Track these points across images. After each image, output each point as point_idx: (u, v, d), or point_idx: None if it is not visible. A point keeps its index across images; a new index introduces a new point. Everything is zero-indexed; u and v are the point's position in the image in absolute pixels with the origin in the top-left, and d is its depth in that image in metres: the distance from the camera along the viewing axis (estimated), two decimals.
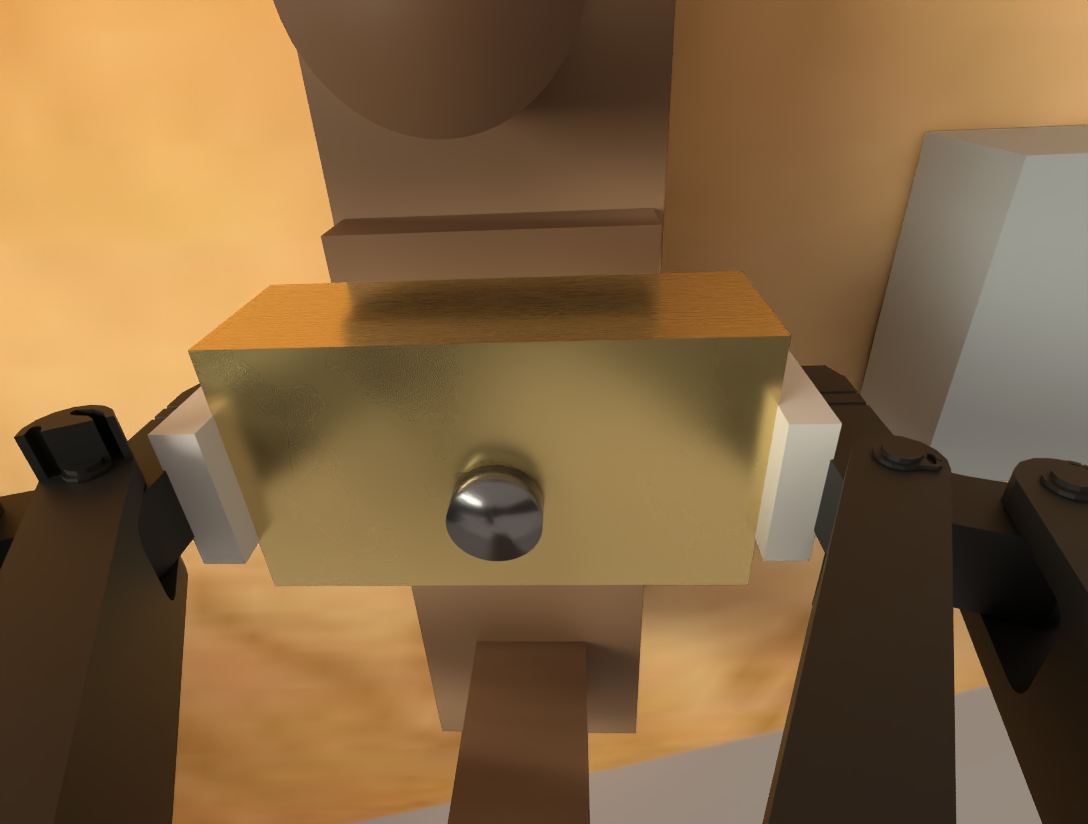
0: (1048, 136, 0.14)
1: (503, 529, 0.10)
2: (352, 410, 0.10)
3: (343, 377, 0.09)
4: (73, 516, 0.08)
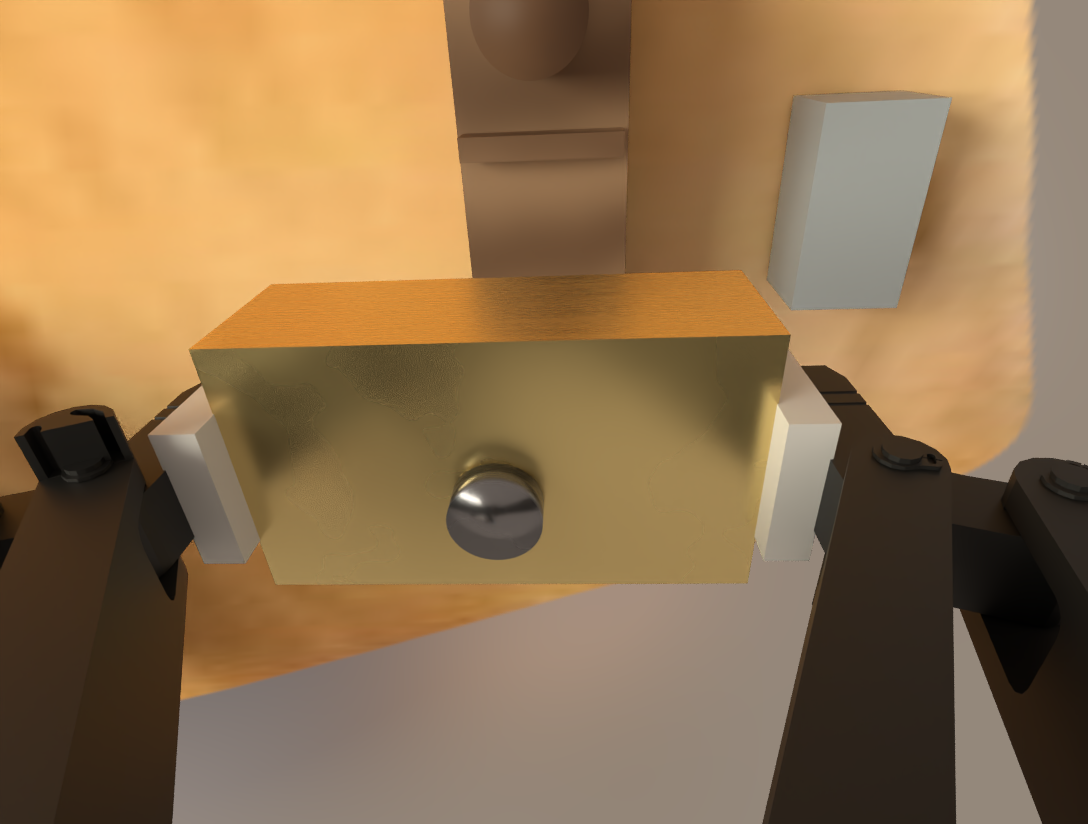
0: (855, 96, 0.24)
1: (503, 528, 0.10)
2: (352, 408, 0.10)
3: (344, 376, 0.10)
4: (73, 516, 0.08)
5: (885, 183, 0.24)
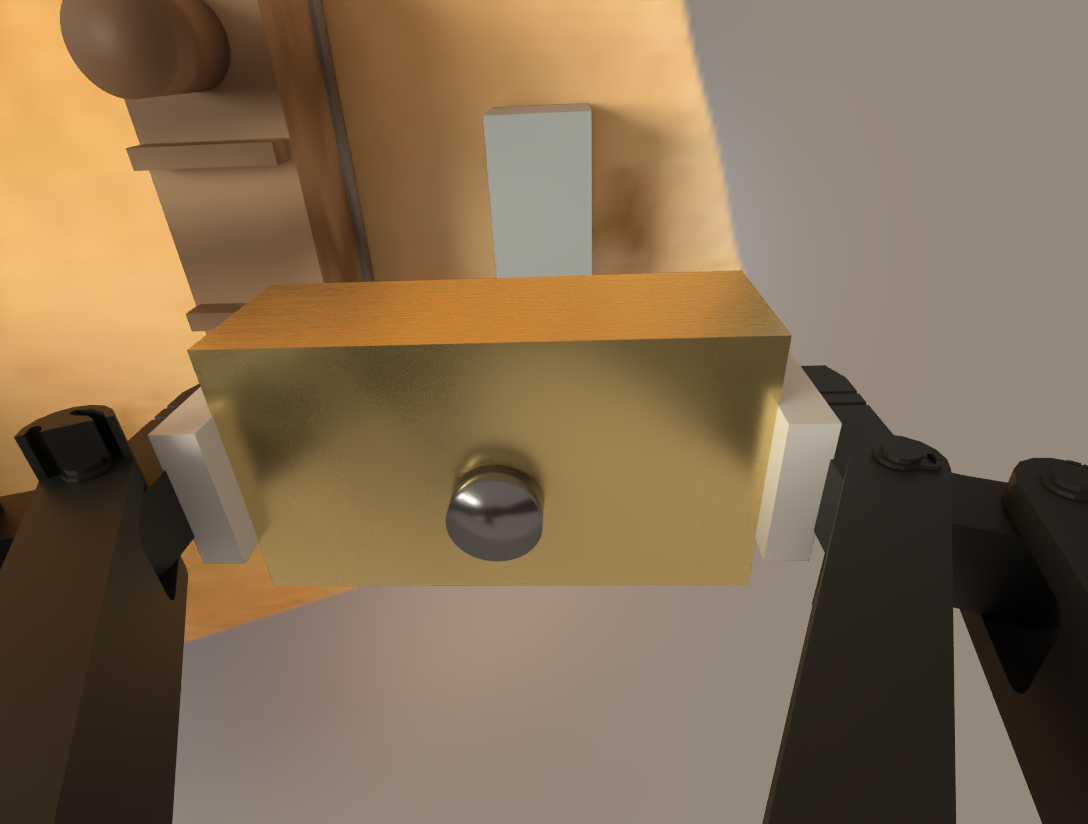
0: (532, 108, 0.27)
1: (503, 529, 0.10)
2: (352, 410, 0.10)
3: (344, 377, 0.09)
4: (74, 516, 0.08)
5: (552, 187, 0.26)
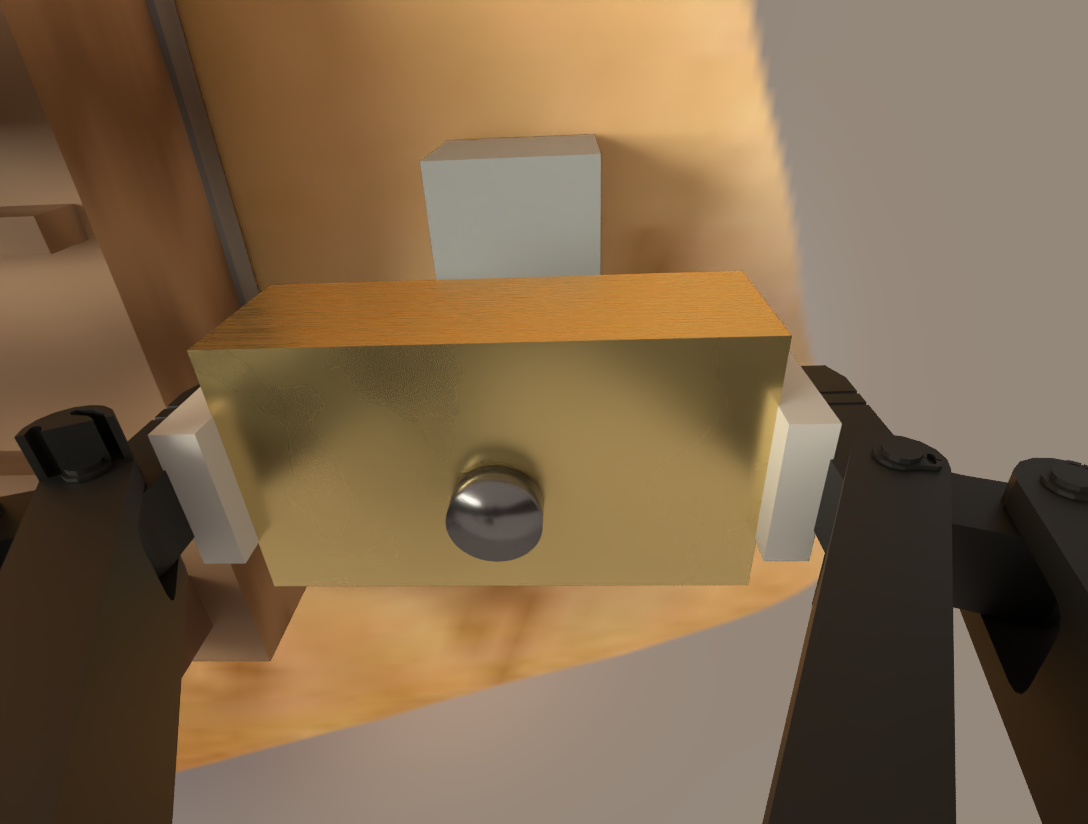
0: (506, 145, 0.17)
1: (503, 529, 0.10)
2: (351, 410, 0.10)
3: (343, 377, 0.09)
4: (73, 516, 0.08)
5: (537, 273, 0.16)
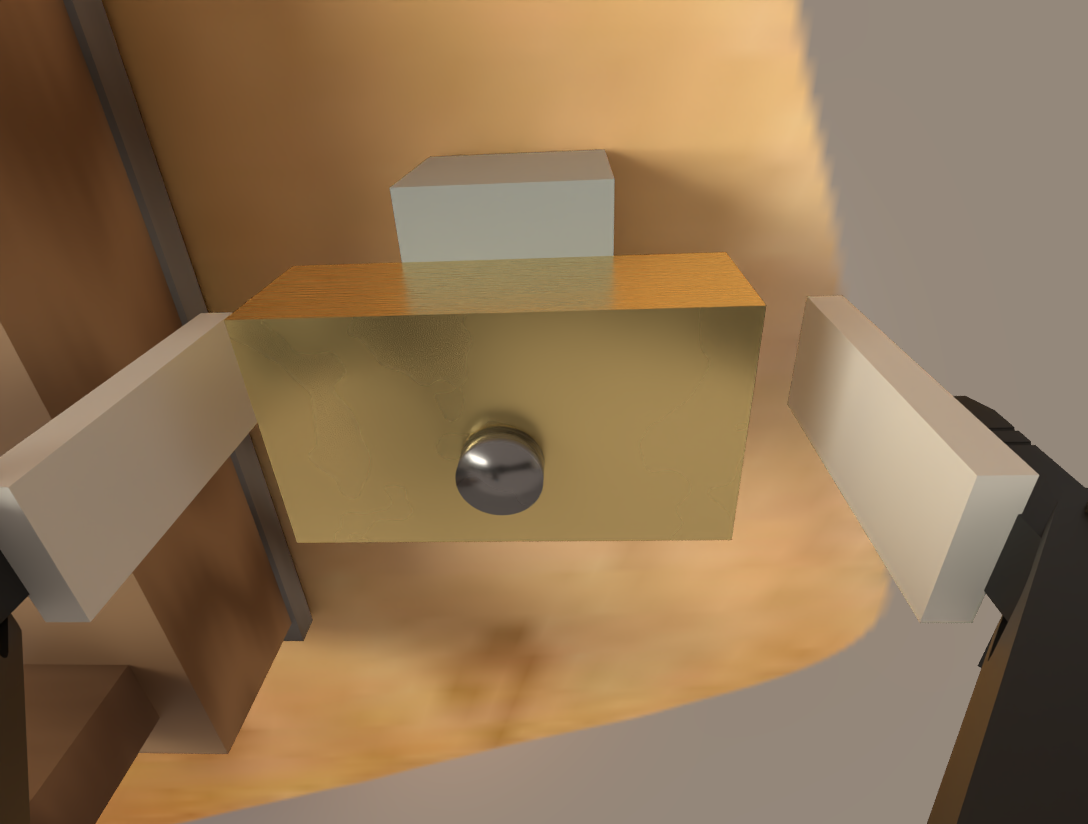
0: (498, 164, 0.14)
1: (507, 484, 0.11)
2: (371, 375, 0.11)
3: (364, 345, 0.11)
4: None
5: None
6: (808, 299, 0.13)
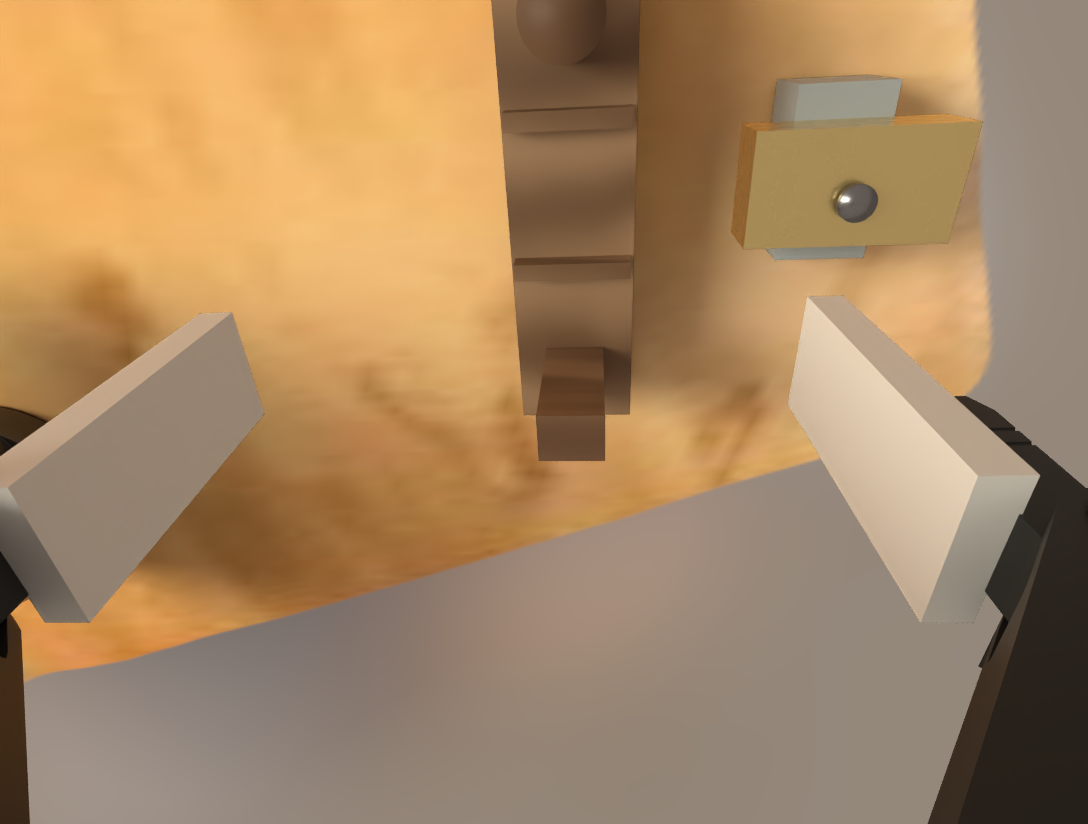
0: (827, 79, 0.29)
1: (861, 206, 0.27)
2: (809, 157, 0.26)
3: (811, 142, 0.26)
4: None
5: None
6: (808, 299, 0.13)
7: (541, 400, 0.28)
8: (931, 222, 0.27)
